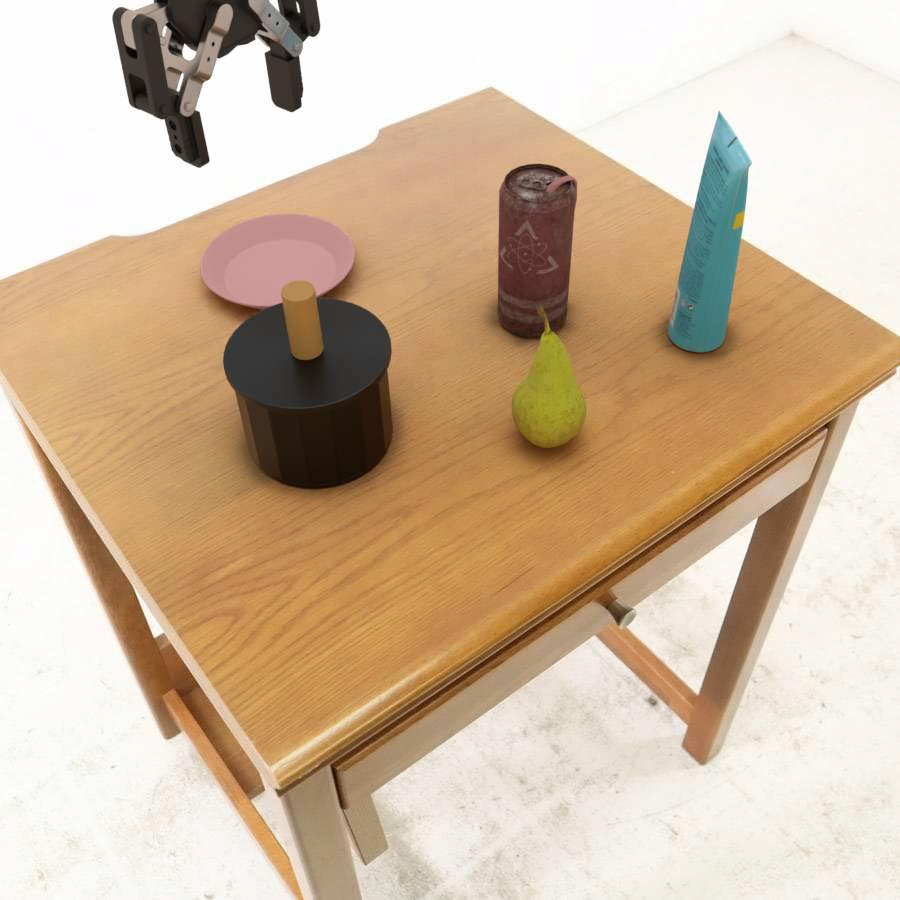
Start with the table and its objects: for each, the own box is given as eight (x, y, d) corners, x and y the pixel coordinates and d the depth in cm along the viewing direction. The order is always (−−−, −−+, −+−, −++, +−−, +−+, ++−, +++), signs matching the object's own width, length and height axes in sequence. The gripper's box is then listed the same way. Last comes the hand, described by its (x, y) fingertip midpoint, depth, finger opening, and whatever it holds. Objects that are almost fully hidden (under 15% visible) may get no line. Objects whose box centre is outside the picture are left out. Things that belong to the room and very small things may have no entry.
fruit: (567, 474, 81) (577, 356, 73) (498, 450, 83) (500, 333, 75) (594, 426, 85) (607, 308, 76) (528, 404, 87) (533, 287, 78)
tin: (329, 511, 79) (316, 432, 73) (219, 449, 84) (198, 369, 78) (420, 422, 86) (415, 342, 80) (313, 369, 90) (301, 289, 84)
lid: (318, 445, 73) (306, 373, 68) (190, 376, 78) (171, 305, 74) (425, 347, 80) (421, 275, 75) (301, 290, 85) (290, 219, 80)
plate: (177, 267, 101) (172, 249, 99) (306, 213, 107) (303, 196, 105) (251, 344, 93) (247, 326, 91) (386, 281, 99) (384, 264, 97)
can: (580, 328, 93) (592, 190, 83) (514, 347, 92) (518, 209, 82) (551, 289, 97) (559, 152, 87) (487, 306, 96) (487, 169, 86)
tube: (738, 357, 90) (784, 156, 76) (684, 367, 90) (721, 166, 76) (704, 304, 95) (742, 106, 81) (653, 313, 95) (682, 115, 81)
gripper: (239, -178, 64) (277, 76, 76) (46, -108, 56) (121, 163, 68) (331, -156, 61) (356, 106, 72) (140, -77, 53) (202, 201, 65)
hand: (242, 134), depth 70 cm, fingers open, 8 cm apart
